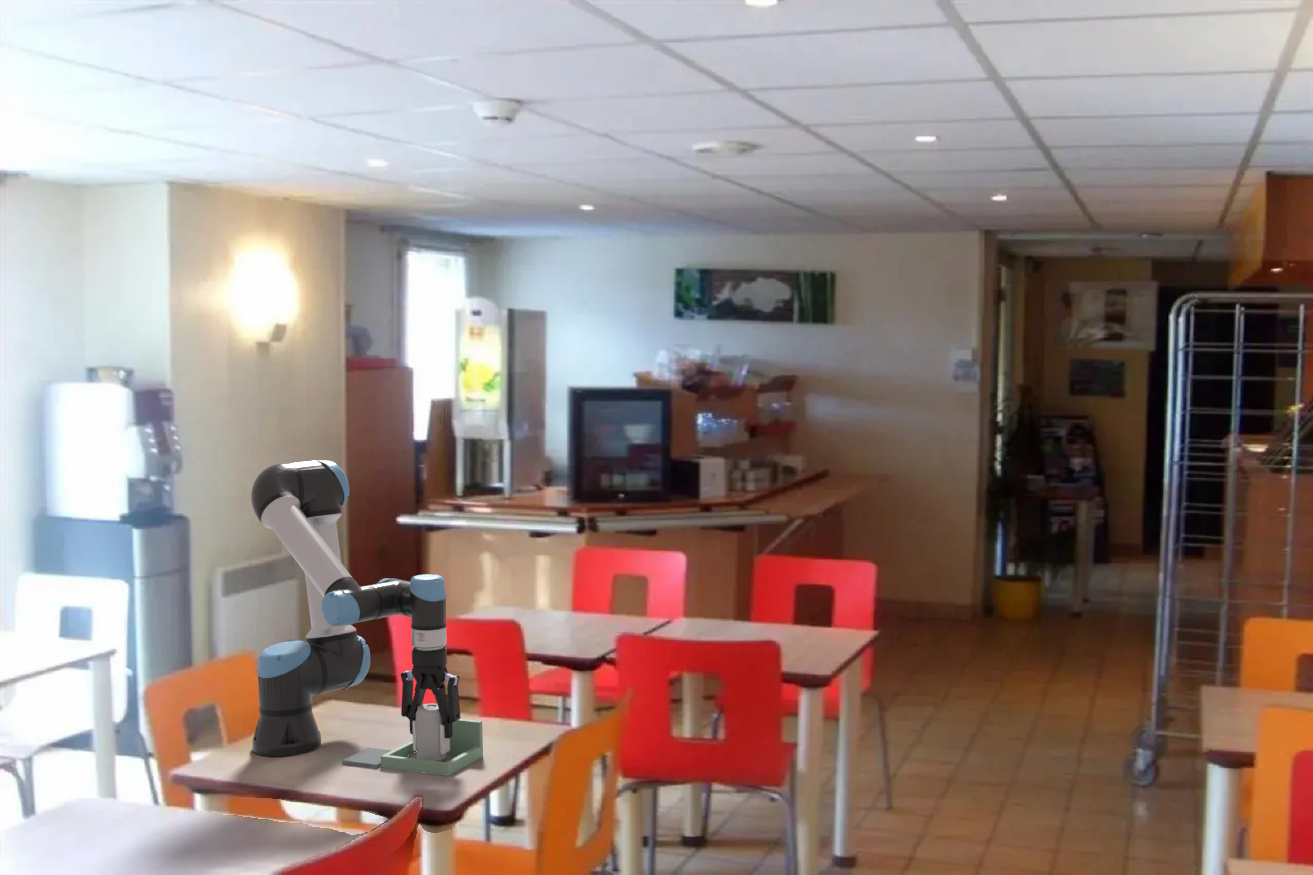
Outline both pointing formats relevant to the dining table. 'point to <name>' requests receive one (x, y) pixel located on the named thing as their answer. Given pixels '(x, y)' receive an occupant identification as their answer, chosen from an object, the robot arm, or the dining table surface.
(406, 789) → the dining table surface
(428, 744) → the beverage can
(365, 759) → the mat
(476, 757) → the green tray
